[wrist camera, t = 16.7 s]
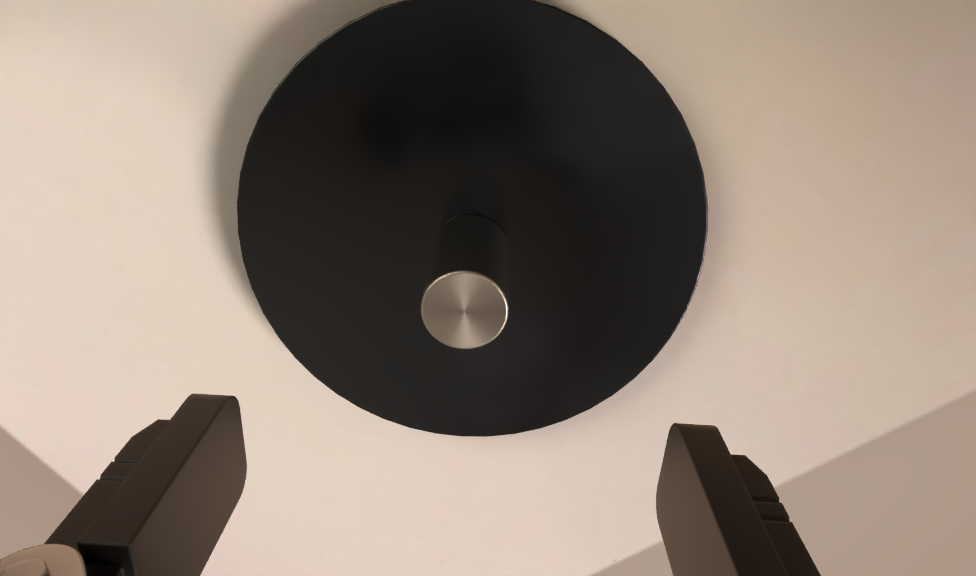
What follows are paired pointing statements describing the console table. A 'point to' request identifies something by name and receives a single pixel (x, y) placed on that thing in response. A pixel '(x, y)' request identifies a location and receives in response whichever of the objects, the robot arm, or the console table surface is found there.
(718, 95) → the console table surface
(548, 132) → the bin lid
